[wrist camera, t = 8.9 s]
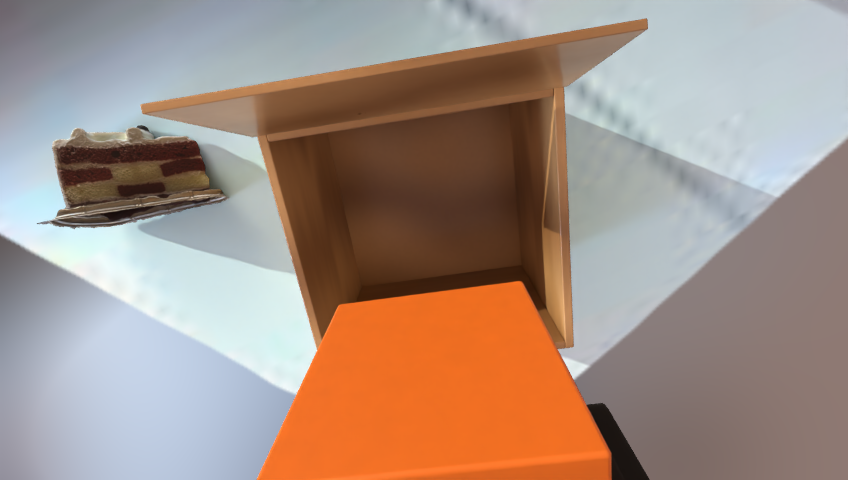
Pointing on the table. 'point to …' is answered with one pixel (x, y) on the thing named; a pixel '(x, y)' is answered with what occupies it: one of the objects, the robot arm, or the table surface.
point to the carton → (429, 205)
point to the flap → (402, 84)
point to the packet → (439, 396)
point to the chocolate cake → (128, 177)
